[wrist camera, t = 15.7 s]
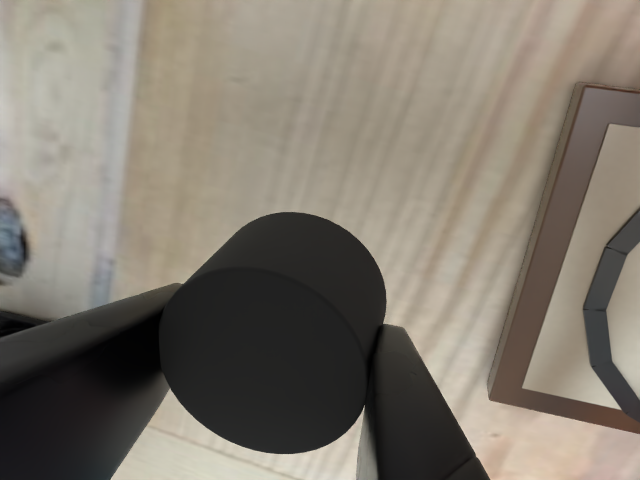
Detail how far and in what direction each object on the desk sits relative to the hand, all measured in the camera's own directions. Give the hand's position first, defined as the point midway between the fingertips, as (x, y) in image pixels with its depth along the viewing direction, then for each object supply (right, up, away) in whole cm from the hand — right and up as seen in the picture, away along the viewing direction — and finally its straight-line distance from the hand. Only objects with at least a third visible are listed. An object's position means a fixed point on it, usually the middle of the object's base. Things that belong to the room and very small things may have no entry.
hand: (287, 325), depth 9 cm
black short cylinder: (0, +1, +1) cm, 1 cm away
